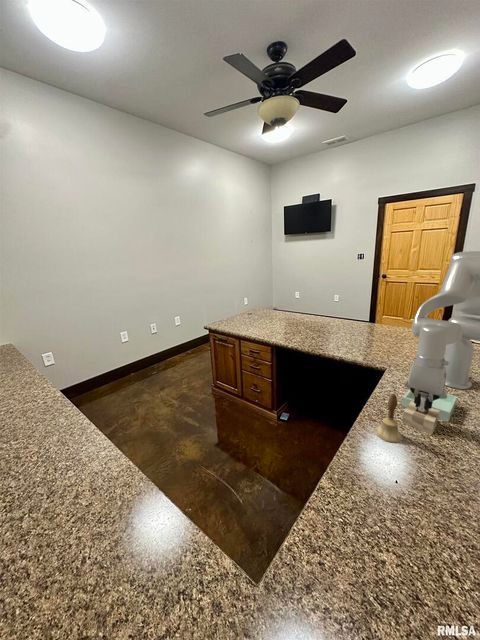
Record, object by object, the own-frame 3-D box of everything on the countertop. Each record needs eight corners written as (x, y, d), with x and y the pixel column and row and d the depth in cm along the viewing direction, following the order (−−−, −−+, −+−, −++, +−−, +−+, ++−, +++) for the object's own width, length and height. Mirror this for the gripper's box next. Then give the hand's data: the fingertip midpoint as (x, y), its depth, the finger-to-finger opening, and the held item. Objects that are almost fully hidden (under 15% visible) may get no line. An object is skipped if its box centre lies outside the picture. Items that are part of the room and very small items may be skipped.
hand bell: (404, 433, 90) (410, 392, 85) (399, 446, 84) (404, 404, 80) (379, 423, 95) (382, 385, 91) (371, 435, 89) (375, 395, 85)
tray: (412, 392, 113) (413, 384, 112) (455, 405, 103) (457, 396, 101) (401, 405, 104) (402, 397, 103) (448, 422, 94) (449, 412, 93)
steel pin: (415, 418, 97) (420, 387, 93) (427, 422, 94) (432, 390, 91) (412, 422, 94) (417, 391, 91) (424, 427, 92) (429, 395, 88)
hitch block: (409, 412, 100) (411, 400, 99) (438, 422, 94) (440, 410, 92) (402, 423, 95) (403, 411, 93) (431, 434, 88) (433, 422, 87)
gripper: (461, 363, 84) (452, 412, 89) (406, 351, 96) (400, 394, 101) (457, 371, 79) (448, 422, 84) (399, 357, 91) (394, 403, 96)
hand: (422, 407), depth 92 cm, fingers closed on steel pin, 2 cm apart
